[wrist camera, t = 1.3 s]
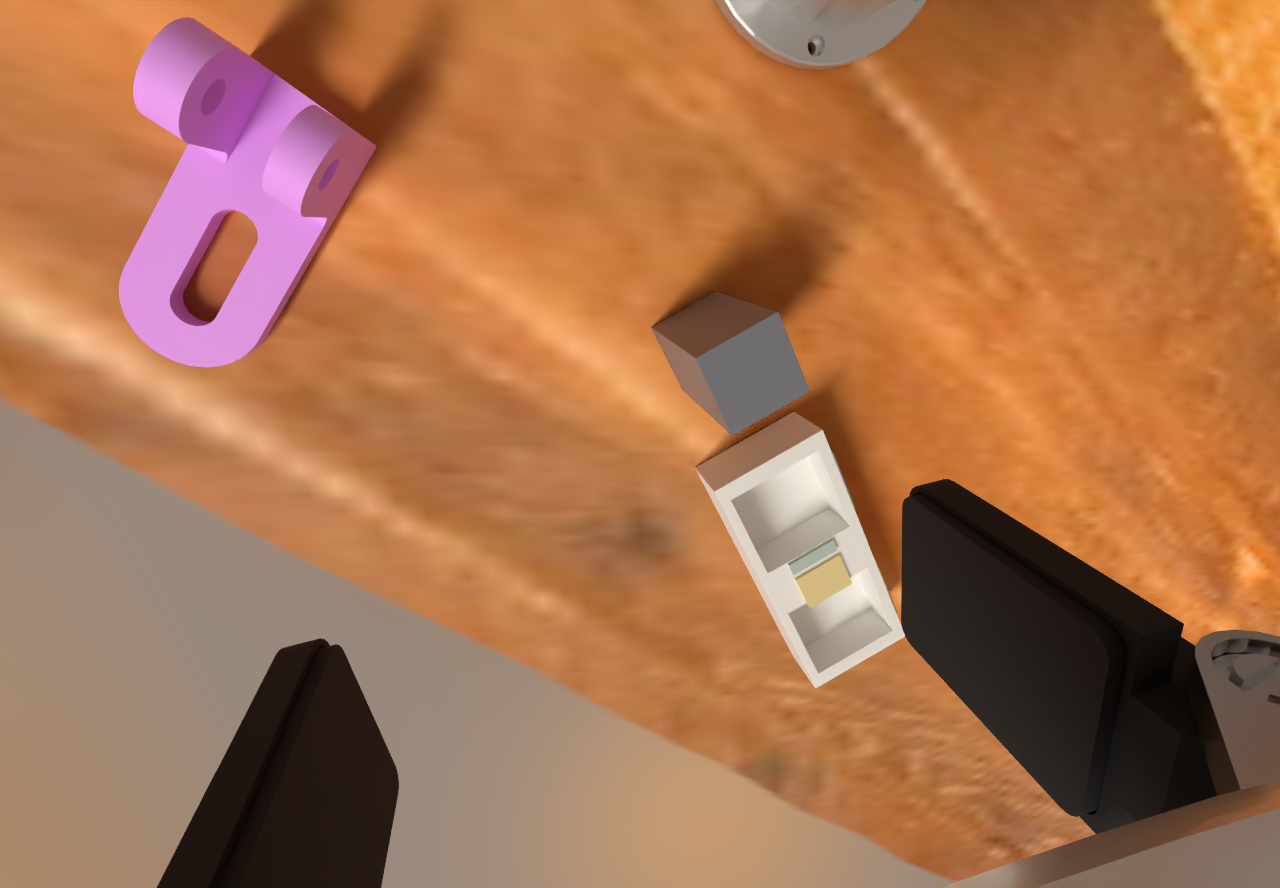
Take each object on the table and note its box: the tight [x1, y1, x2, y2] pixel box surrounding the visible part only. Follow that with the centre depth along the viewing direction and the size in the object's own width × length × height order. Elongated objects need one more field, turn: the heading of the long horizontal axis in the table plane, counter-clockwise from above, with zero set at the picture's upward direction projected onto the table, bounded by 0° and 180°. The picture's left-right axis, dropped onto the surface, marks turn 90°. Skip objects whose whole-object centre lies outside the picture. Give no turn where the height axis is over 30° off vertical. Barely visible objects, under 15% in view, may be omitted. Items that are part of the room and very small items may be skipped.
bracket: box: [119, 17, 377, 367], centre depth 24 cm, size 13×6×7 cm, turn 144°
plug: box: [651, 291, 810, 435], centre depth 30 cm, size 4×4×8 cm
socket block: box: [695, 412, 905, 688], centre depth 38 cm, size 7×17×4 cm, turn 27°
